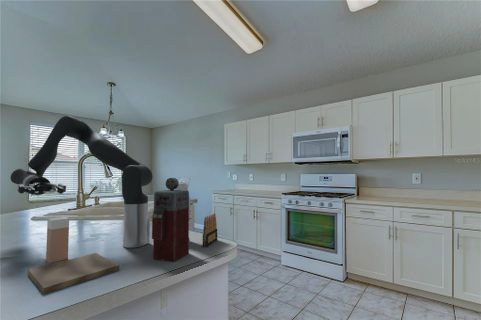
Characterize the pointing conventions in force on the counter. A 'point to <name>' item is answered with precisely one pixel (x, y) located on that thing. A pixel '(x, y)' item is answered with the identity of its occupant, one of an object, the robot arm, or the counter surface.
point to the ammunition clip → (209, 230)
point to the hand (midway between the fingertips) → (48, 191)
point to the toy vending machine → (170, 223)
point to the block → (57, 239)
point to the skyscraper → (184, 186)
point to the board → (71, 272)
